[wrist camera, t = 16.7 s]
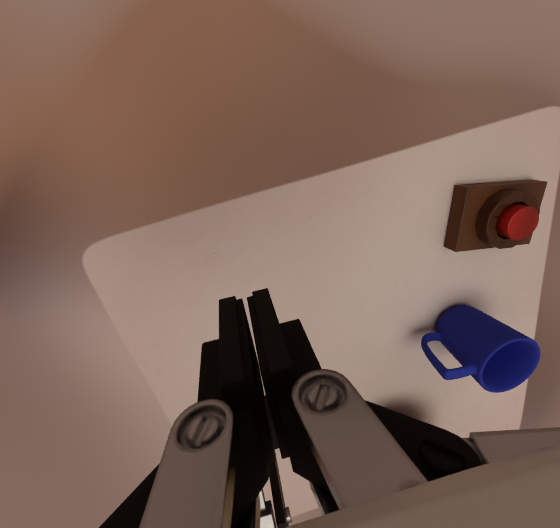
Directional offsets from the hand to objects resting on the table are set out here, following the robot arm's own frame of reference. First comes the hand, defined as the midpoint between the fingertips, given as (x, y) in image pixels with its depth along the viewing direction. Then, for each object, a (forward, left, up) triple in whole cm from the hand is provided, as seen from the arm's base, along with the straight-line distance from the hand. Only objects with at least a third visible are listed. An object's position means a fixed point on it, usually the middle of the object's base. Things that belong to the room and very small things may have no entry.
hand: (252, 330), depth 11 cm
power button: (+28, +18, -22) cm, 40 cm away
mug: (+36, +3, -25) cm, 44 cm away
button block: (+28, +18, -25) cm, 42 cm away
